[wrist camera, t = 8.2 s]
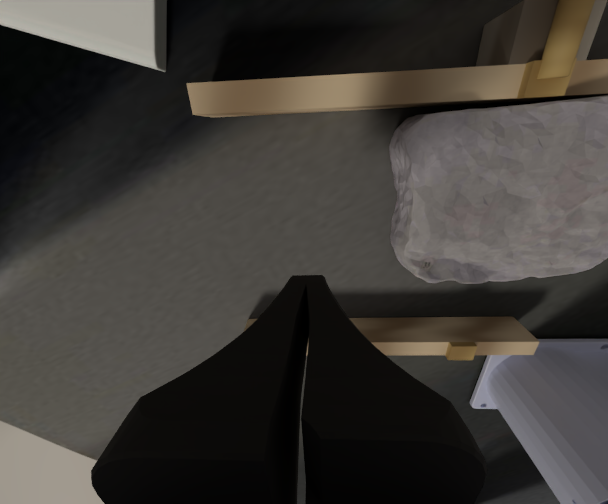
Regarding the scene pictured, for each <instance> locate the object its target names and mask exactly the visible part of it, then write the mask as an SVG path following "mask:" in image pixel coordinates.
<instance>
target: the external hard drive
mask: <svg viewBox="0 0 608 504" xmlns="http://www.w3.org/2000/svg"><path fill="white" fill-rule="evenodd" d="M166 18H167V0H0V25H3V26H7V27H10V28H13V29H17V30H20V31H24V32H27V33H31V34H34V35H38V36H41V37H45V38H48V39H52V40H55V41H59V42H62V43H66V44H69V45H73V46H76V47H80V48H83V49H87V50H90V51H93V52H97V53H100V54H104V55H107V56H111V57H114V58H118V59H121V60H125V61H128V62H132V63H135V64H139V65H142V66H146V67H150V68H153V69H157V70H160V71H164V72H166Z"/></svg>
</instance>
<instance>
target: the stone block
mask: <svg viewBox="0 0 608 504" xmlns="http://www.w3.org/2000/svg"><path fill="white" fill-rule="evenodd" d="M389 152H390V160H391V163H392V170H393V173H394V183H395V188H396V190H397V203H396V207H395V212H394V214H393V217H392V229H391V234H390V238H391V245H392V246H393V248H394V251H395V254H396V257H397V259H398V260H399V262H400V263H401V264H402V265H403V266H404V267H405V268H407V269H408V270H409V271H410V272H412V273H413V274H414V275H415V276H416V277H419V278H421V279H423V280H425V281H427V282H429V283H438V282H442V281H446V280H455V281H457V282H460V283H465V284H478V283H484V282H487V281H502V282H505V281H511V280H520V279H524V278H527V277H530V276H532V277H537V278H543V277H549V276H558V275H566V274H572V273H578V272H581V271H585V270H588V269H591V268H593V267H594V266H595V265H598V264H600V263H601V262H602V261H604V260H605V259H607V258H608V95H607V96H598V97H590V98H581V99H572V100H563V101H553V102H544V103H534V104H525V105H514V106H502V107H494V108H484V109H465V110H459V111H448V112H439V113H431V114H420V115H415V116H414V117H408V118H407V119H406V120H405V121H404V122H403V123H402V124H401V125H400V126H399V127H398V128H397V129H396V130H395V131H394V134H393V136H392V139H391V142H390V145H389Z"/></svg>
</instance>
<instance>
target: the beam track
mask: <svg viewBox="0 0 608 504" xmlns="http://www.w3.org/2000/svg"><path fill="white" fill-rule="evenodd" d="M606 3H607V0H523V1H522V2H520V3H518V4H517V5H515V6H514V7H512V8H510V9H509V10H507V11H506V12H504V13H502V14H501V15H499V16H498V17H496V18H494V19H493V20H491V21H490V22H488V23H486V24H485V25H484V29H483V33H482V38H481V43H480V48H479V53H478V57H477V62H476V67H461V68H444V69H427V70H409V71H392V72H375V73H358V74H340V75H323V76H306V77H289V78H272V79H254V80H237V81H220V82H203V83H187V88H188V93H189V98H190V103H191V108H192V113H193V115H199V116H206V117H231V116H250V115H270V114H290V113H310V112H329V111H349V110H369V109H389V108H408V107H428V106H448V105H467V104H487V103H507V102H527V101H546V100H566V99H581V98H590V97H598V96H607V95H608V59H599V60H586V59H587V56H588V53H589V50H590V48H591V45H592V42H593V39H594V36H595V34H596V31H597V28H598V25H599V23H600V20H601V17H602V14H603V11H604V9H605V6H606ZM349 319H350V320H351V321H352V323H353V324H354V325H355V326H356V327H357V328H358V330H359V331H360V332H361V333H362V334H363V335H364V336H365V337H366V338H367V339H368V340H369V341H370V342H371V343H372V344H373V345H374V346H375V347H376V348H377V349H379V350H380V351H381V352H382V353H383V354H384V355H445V356H446V357H447V359H448V360H473V358H474V355H534V353H535V351H536V349H537V347H538V345H539V343H540V341H538V340H537V339H536V338H535V337H534V336H533V335H532V334H531V333H530V332H529V331H528V330H527V329H526V328H525V327H523V326H522V325H521V324H520V323H519V322H518V321H517V320H516V319H515V318H514V317H402V318H349ZM256 320H257V319H248V321H247V324H246V327H245V329H244V331H245V330H246V329H247V328H249V327H250V326H251V325H252V324H253V323H254V322H255V321H256ZM308 341H309V338H308ZM306 355H308V346H307V353H306Z"/></svg>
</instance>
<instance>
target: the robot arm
mask: <svg viewBox="0 0 608 504" xmlns="http://www.w3.org/2000/svg"><path fill="white" fill-rule="evenodd" d="M308 338H309V341H308ZM537 340H538V341H540V343H539V345H538V347H537V349H536V351H535V353H534V355H487V358H486V360H485V363H484V366H483V368H482V371H481V373H480V376H479V379H478V381H477V384H476V387H475V389H474V392H473V395H472V397H471V400H470V404H471V406H472V407H473V408H475V409H498V410H499V411H500V413H501V414H502V416H503V417H504V419H505V420H506V422H507V423H508V425H509V426H510V428H511V429H512V431H513V432H514V434H515V435H516V437H517V438H518V440H519V441H520V443H521V444H522V446H523V447H524V449H525V450H526V452H527V453H528V455H529V456H530V458H531V459H532V461H533V463H534V464H535V466H536V467H537V469H538V470H539V472H540V473H541V475H542V476H543V478H544V479H545V481H546V482H547V484H548V485H549V487H550V488H551V490H552V491H553V493H554V494H555V496H556V497H557V499H558V500H559V502H560V503H561V504H608V339H537ZM307 346H308V355H307V367H306V378H305V388H304V398H303V407H302V416H301V421H302V434H303V447H304V461H305V474H306V504H474V502H475V500H476V498H477V496H478V495H479V493H480V491H481V489H482V487H483V485H484V482H485V479H486V475H487V471H488V469H487V465H486V462H485V459H484V457H483V455H482V453H481V451H480V449H479V447H478V445H477V443H476V441H475V440H474V438H473V436H472V434H471V433H470V431H469V429H468V428H467V426H466V425H465V423H464V421H463V420H462V418H461V417H460V415H459V414H458V412H457V411H456V409H455V408H454V406H453V405H452V403H451V402H450V401H449V400H447V399H446V398H444V397H442V396H441V395H439V394H438V393H436V392H435V391H433V390H432V389H430V388H429V387H427V386H426V385H424V384H423V383H421V382H420V381H418V380H417V379H415V378H414V377H412V376H411V375H409V374H408V373H407V372H405V371H404V370H403V369H401V368H400V367H399V366H398V365H396V364H395V363H394V362H392V361H391V360H390V359H389V358H388V357H387V356H386V355H384V354H383V353H382V352H381V351H380V350H379V349H377V348H376V347H375V346H374V345H373V344H372V343H371V342H370V341H369V340H368V339H367V338H366V337H365V336H364V335H363V334H362V333H361V332H360V331H359V330H358V328H357V327H356V326H355V325H354V324H353V323H352V321H351V320H350V319H349V318H348V316H347V315H346V314H345V312H344V311H343V310H342V308H341V307H340V305H339V304H338V302H337V301H336V299H335V298H334V296H333V294H332V293H331V291H330V289H329V287H328V285H327V283H326V280H325V277H324V276H323V275H302V276H292V277H291V278H290V279H289V281H288V282H287V284H286V285H285V287H284V288H283V289H282V291H281V292H280V293H279V295H278V296H277V297H276V298H275V300H274V301H273V302H272V303H271V305H270V306H269V307H268V308H267V309H266V310H265V311H264V312H263V313H262V315H261V316H260V317H259V318H258V319H257V320H256V321H255V322H254V323H253V324H252V325H251V326H250V327H249V328H247V329H246V330H245V331H244V332H243V333H242V334H241V335H240V336H238V337H237V338H236V339H235V340H233V341H232V342H231V343H229V344H228V345H227V346H225V347H224V348H223V349H221V350H220V351H219V352H217V353H216V354H214V355H213V356H211V357H210V358H208V359H207V360H205V361H204V362H202V363H201V364H199V365H198V366H196V367H194V368H193V369H191V370H190V371H188V372H186V373H185V374H183V375H181V376H179V377H178V378H176V379H174V380H172V381H170V382H168V383H167V384H165V385H163V386H161V387H159V388H157V389H155V390H154V391H152V392H150V393H148V394H146V395H144V396H142V397H141V398H140V399H139V400H138V402H137V403H136V404H135V406H134V407H133V408H132V410H131V411H130V412H129V414H128V415H127V417H126V418H125V420H124V421H123V423H122V424H121V426H120V427H119V429H118V430H117V432H116V433H115V435H114V436H113V438H112V440H111V441H110V443H109V444H108V446H107V447H106V449H105V450H104V452H103V453H102V455H101V456H100V458H99V459H98V461H97V462H96V464H95V466H94V467H93V469H92V470H91V474H92V475H91V479H92V486H93V487H94V489H95V491H96V492H97V495H98V496H99V497H100V498H101V500H102V501H103V502H104V503H105V504H297V483H298V454H299V428H300V405H301V392H302V384H303V376H304V369H305V361H306V353H307Z"/></svg>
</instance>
